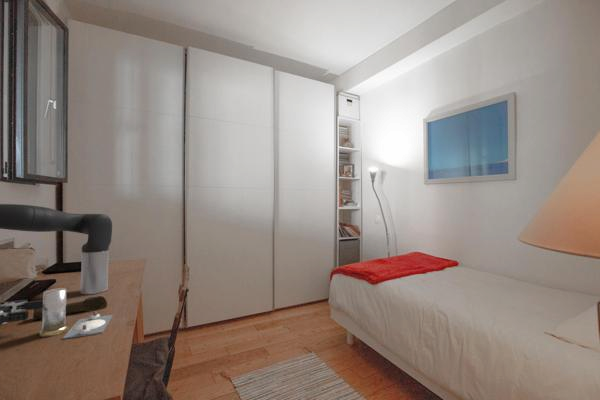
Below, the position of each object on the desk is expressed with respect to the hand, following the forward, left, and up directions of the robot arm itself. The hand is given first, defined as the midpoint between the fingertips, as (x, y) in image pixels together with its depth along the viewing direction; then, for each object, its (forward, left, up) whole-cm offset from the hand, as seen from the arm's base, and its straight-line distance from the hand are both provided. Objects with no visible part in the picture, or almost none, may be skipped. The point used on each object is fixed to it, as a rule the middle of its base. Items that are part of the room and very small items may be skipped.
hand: (35, 309), depth 75 cm
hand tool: (-15, +4, -8) cm, 17 cm away
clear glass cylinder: (0, +4, -7) cm, 8 cm away
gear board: (0, +13, -7) cm, 15 cm away
